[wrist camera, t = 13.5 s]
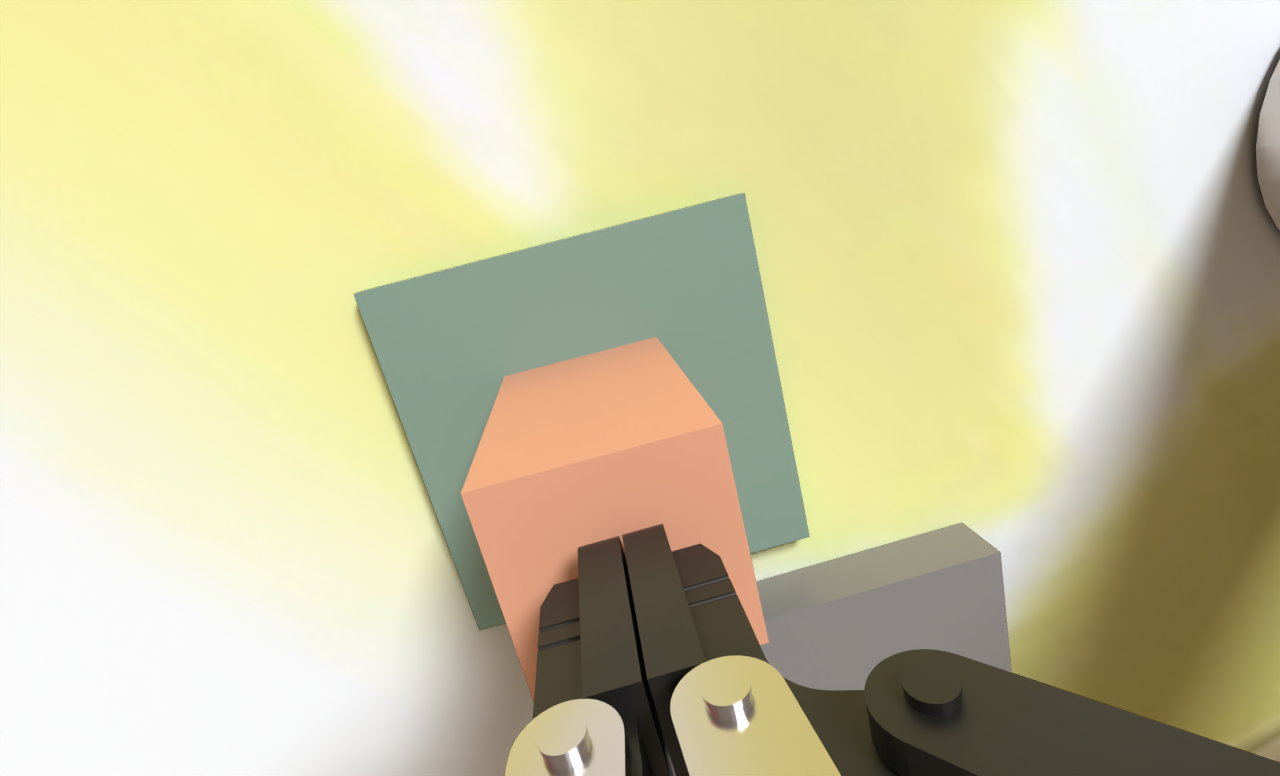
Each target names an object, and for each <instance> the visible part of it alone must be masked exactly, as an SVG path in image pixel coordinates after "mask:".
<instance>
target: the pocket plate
mask: <svg viewBox="0 0 1280 776" xmlns="http://www.w3.org/2000/svg"><path fill="white" fill-rule="evenodd" d="M756 584H757V588H758V593H759V598H760V603H761V607H762V612H763V617H764V621H765V626H766V631H767V635H768V640H769V643H766V644H762V645H760V646H761V649H762V651H763V653H764V655H765V657H766V659H767V661H768V663H769V664H770V665H771V666H773V667H774V668H775V669H776V670H777V671H778V672H779V673H780V674H781V675H782V676H783V677H784V678H786V679H788V680H789V681H791V682H794V683H796V684H798V685H801V686H805V687H808V688H813V689H819V690H864V688H865V683H866V680H867V677H868V676H869V674H870V672H871V671H872V670H873V668H874V667H875V666H876V665H877V664H879V663H880V662H881V661H883V660H884V659H886V658H888V657H890V656H892V655H894V654H897V653H900V652H904V651H909V650H917V649H933V650H940V651H947V652H950V653H954V654H958V655H961V656H964V657H967V658H970V659H972V660H975V661H978V662H981V663H984V664H987V665H990V666H993V667H996V668H999V669H1002V670H1005V671H1008V672H1011V673H1012V671H1011V660H1010V649H1009V639H1008V628H1007V617H1006V606H1005V596H1004V585H1003V574H1002V563H1001V553H1000V551H998V550H997V549H996V548H995V547H993V546H992V545H991V544H989V543H988V542H987V541H985V540H984V539H983V538H982V537H980V536H979V535H978V534H976V533H975V532H974V531H972V530H971V529H970V528H969V527H967V526H966V525H965V524H963V523H959V524H956V525H952V526H949V527H945V528H942V529H938V530H935V531H931V532H928V533H924V534H921V535H917V536H914V537H911V538H907V539H904V540H900V541H897V542H893V543H890V544H886V545H883V546H879V547H876V548H872V549H869V550H865V551H862V552H858V553H855V554H851V555H848V556H844V557H841V558H837V559H834V560H830V561H827V562H823V563H820V564H816V565H813V566H809V567H806V568H802V569H799V570H795V571H792V572H788V573H785V574H781V575H778V576H774V577H771V578H767V579H764V580H760V581H757V582H756ZM675 776H676V775H675Z"/></svg>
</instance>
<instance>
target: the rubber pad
mask: <svg viewBox="0 0 1280 776" xmlns="http://www.w3.org/2000/svg"><path fill="white" fill-rule="evenodd" d="M354 297H355V300H356V302H357V305H358V308H359V310H360V313H361V316H362V318H363V321H364V324H365V326H366V329H367V332H368V334H369V337H370V340H371V342H372V345H373V348H374V350H375V353H376V356H377V358H378V361H379V364H380V366H381V369H382V372H383V374H384V377H385V380H386V382H387V385H388V388H389V390H390V393H391V396H392V398H393V401H394V404H395V406H396V409H397V412H398V414H399V417H400V420H401V422H402V425H403V428H404V430H405V433H406V436H407V438H408V441H409V444H410V446H411V449H412V452H413V454H414V457H415V460H416V462H417V465H418V468H419V470H420V473H421V476H422V478H423V481H424V484H425V486H426V489H427V492H428V494H429V497H430V500H431V502H432V505H433V508H434V510H435V513H436V516H437V518H438V521H439V524H440V526H441V529H442V532H443V534H444V537H445V540H446V542H447V545H448V548H449V550H450V553H451V556H452V558H453V561H454V564H455V566H456V569H457V572H458V574H459V577H460V580H461V582H462V585H463V588H464V590H465V593H466V596H467V598H468V601H469V604H470V606H471V609H472V612H473V614H474V617H475V620H476V622H477V625H478V628H479V630H483V629H487V628H490V627H494V626H497V625H501V624H504V623H506V621H505V618H504V615H503V613H502V610H501V607H500V604H499V601H498V598H497V595H496V593H495V590H494V587H493V584H492V581H491V578H490V575H489V573H488V570H487V567H486V564H485V561H484V558H483V555H482V553H481V550H480V547H479V544H478V541H477V538H476V535H475V533H474V530H473V527H472V524H471V521H470V518H469V515H468V513H467V510H466V507H465V504H464V501H463V498H462V495H461V491H462V489H463V486H464V483H465V481H466V478H467V475H468V473H469V470H470V467H471V465H472V462H473V459H474V457H475V454H476V451H477V449H478V446H479V443H480V440H481V438H482V435H483V432H484V430H485V427H486V424H487V422H488V419H489V416H490V414H491V411H492V408H493V406H494V403H495V400H496V398H497V395H498V392H499V390H500V387H501V384H502V381H503V379H504V376H508V375H511V374H515V373H519V372H523V371H527V370H531V369H535V368H538V367H542V366H546V365H550V364H554V363H558V362H562V361H566V360H569V359H573V358H577V357H581V356H585V355H589V354H593V353H596V352H600V351H604V350H608V349H612V348H616V347H620V346H623V345H627V344H631V343H635V342H639V341H643V340H647V339H650V338H654V337H657V338H658V340H659V341H660V342H661V344H662V345H663V346H664V348H665V349H666V350H667V351H668V353H669V354H670V355H671V357H672V358H673V359H674V361H675V362H676V363H677V365H678V366H679V367H680V369H681V370H682V371H683V372H684V374H685V375H686V376H687V378H688V379H689V380H690V382H691V383H692V384H693V386H694V387H695V388H696V390H697V391H698V392H699V393H700V395H701V396H702V397H703V399H704V400H705V401H706V403H707V404H708V405H709V407H710V408H711V409H712V411H713V412H714V413H715V414H716V416H717V417H718V418H719V420H720V421H721V422H722V424H723V429H724V433H725V438H726V443H727V447H728V452H729V457H730V462H731V466H732V471H733V476H734V480H735V485H736V490H737V494H738V499H739V504H740V509H741V513H742V518H743V523H744V527H745V532H746V537H747V541H748V546H749V551H750V553H754V552H757V551H761V550H764V549H768V548H771V547H775V546H779V545H782V544H786V543H789V542H793V541H796V540H800V539H803V538H807V537H810V536H809V531H808V526H807V520H806V515H805V510H804V504H803V499H802V494H801V489H800V483H799V478H798V473H797V468H796V462H795V457H794V452H793V446H792V441H791V436H790V431H789V425H788V420H787V415H786V409H785V404H784V399H783V394H782V388H781V383H780V378H779V372H778V367H777V362H776V357H775V351H774V346H773V341H772V336H771V330H770V325H769V320H768V314H767V309H766V304H765V299H764V293H763V288H762V283H761V277H760V272H759V267H758V262H757V256H756V251H755V246H754V240H753V235H752V230H751V225H750V219H749V214H748V209H747V204H746V198H745V193H741V194H736V195H732V196H729V197H725V198H721V199H717V200H713V201H709V202H705V203H701V204H697V205H694V206H690V207H686V208H682V209H678V210H674V211H670V212H666V213H663V214H659V215H655V216H651V217H647V218H643V219H639V220H635V221H632V222H628V223H624V224H620V225H616V226H612V227H608V228H604V229H601V230H597V231H593V232H589V233H585V234H581V235H577V236H573V237H570V238H566V239H562V240H558V241H554V242H550V243H546V244H542V245H538V246H535V247H531V248H527V249H523V250H519V251H515V252H511V253H507V254H504V255H500V256H496V257H492V258H488V259H484V260H480V261H476V262H473V263H469V264H465V265H461V266H457V267H453V268H449V269H445V270H442V271H438V272H434V273H430V274H426V275H422V276H418V277H414V278H411V279H407V280H403V281H399V282H395V283H391V284H387V285H383V286H379V287H376V288H372V289H368V290H364V291H360V292H357V293H355V294H354Z"/></svg>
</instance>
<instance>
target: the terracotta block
mask: <svg viewBox="0 0 1280 776" xmlns="http://www.w3.org/2000/svg"><path fill="white" fill-rule="evenodd" d="M461 495H462V498H463V501H464V504H465V507H466V510H467V513H468V515H469V518H470V521H471V524H472V527H473V530H474V533H475V535H476V538H477V541H478V544H479V547H480V550H481V553H482V555H483V558H484V561H485V564H486V567H487V570H488V573H489V575H490V578H491V581H492V584H493V587H494V590H495V593H496V595H497V598H498V601H499V604H500V607H501V610H502V613H503V615H504V618H505V621H506V624H507V627H508V630H509V633H510V635H511V638H512V641H513V644H514V647H515V650H516V653H517V655H518V658H519V661H520V664H521V667H522V670H523V673H524V675H525V678H526V681H527V684H528V687H529V690H530V693H531V695H532V698H533V701H534V694H535V679H536V664H537V652H538V634H539V633H540V632H539V619H540V606H541V605H542V603H543V602H544V600H545V598H546V597H547V595H548V593H549V592H550V590H551V588H552V587H553V585H555V584H558V583H562V582H565V581H569V580H573V579H576V578H578V547H581V546H584V545H588V544H591V543H595V542H599V541H602V540H606V539H609V538H613V537H617V536H619V537H620V540H621V543H622V546H623V549H624V543H623V537H622V535H623V534H627V533H630V532H634V531H638V530H641V529H645V528H648V527H652V526H656V525H659V524H663V526H664V529H665V532H666V535H667V539H668V542H669V545H670V548H671V551H675V550H679V549H682V548H686V547H690V546H693V545H697V544H700V543H701V544H702V545H704V546H705V547H707V548H708V549H710V550H711V551H713V552H714V553H716V554H717V555H719V556H720V558H721V560H722V562H723V564H724V566H725V569H726V571H727V573H728V576H729V579H730V580H731V582H732V584H733V586H734V589H735V591H736V594H737V595H738V598H739V600H740V602H741V604H742V606H743V609H744V611H745V613H746V615H747V617H748V620H749V622H750V624H751V626H752V629H753V631H754V633H755V635H756V637H757V640H758V642H759V644H760V645H762V644H766V643H769V640H768V635H767V631H766V626H765V621H764V617H763V612H762V607H761V603H760V598H759V593H758V588H757V584H756V579H755V574H754V570H753V565H752V560H751V556H750V551H749V546H748V541H747V537H746V532H745V527H744V523H743V518H742V513H741V509H740V504H739V499H738V494H737V490H736V485H735V480H734V476H733V471H732V466H731V462H730V457H729V452H728V447H727V443H726V438H725V433H724V429H723V424H722V422H721V421H720V420H719V418H718V417H717V416H716V414H715V413H714V412H713V411H712V409H711V408H710V407H709V405H708V404H707V403H706V401H705V400H704V399H703V397H702V396H701V395H700V393H699V392H698V391H697V390H696V388H695V387H694V386H693V384H692V383H691V382H690V380H689V379H688V378H687V376H686V375H685V374H684V372H683V371H682V370H681V369H680V367H679V366H678V365H677V363H676V362H675V361H674V359H673V358H672V357H671V355H670V354H669V353H668V351H667V350H666V349H665V348H664V346H663V345H662V344H661V342H660V341H659V340H658V338H657V337H654V338H650V339H647V340H643V341H639V342H635V343H631V344H627V345H623V346H620V347H616V348H612V349H608V350H604V351H600V352H596V353H593V354H589V355H585V356H581V357H577V358H573V359H569V360H566V361H562V362H558V363H554V364H550V365H546V366H542V367H538V368H535V369H531V370H527V371H523V372H519V373H515V374H511V375H508V376H504V379H503V381H502V384H501V387H500V390H499V392H498V395H497V398H496V400H495V403H494V406H493V408H492V411H491V414H490V416H489V419H488V422H487V424H486V427H485V430H484V432H483V435H482V438H481V440H480V443H479V446H478V449H477V451H476V454H475V457H474V459H473V462H472V465H471V467H470V470H469V473H468V475H467V478H466V481H465V483H464V486H463V489H462V491H461ZM624 553H625V549H624ZM625 556H626V554H625Z"/></svg>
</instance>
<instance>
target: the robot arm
mask: <svg viewBox="0 0 1280 776" xmlns="http://www.w3.org/2000/svg"><path fill="white" fill-rule="evenodd" d="M1256 160H1257V175H1258V182H1259V186H1260V189H1261V193H1262V196H1263V200H1264V203H1265V207H1266V209H1267V210H1268V212H1269V214H1270V216H1271V217H1272V219H1273V221H1274V223H1275V224H1276V226H1277V228H1278V229H1279V231H1280V60H1279V62H1278V64H1277V66H1276V68H1275V70H1274V72H1273V75H1272V77H1271V79H1270V82H1269V85H1268V89H1267V92H1266V95H1265V99H1264V102H1263V105H1262V109H1261V112H1260V117H1259V126H1258V134H1257V142H1256ZM622 537H623V543H624V549H625V553H624V549H623V546H622V543H621V540H620V537H619V536H617V537H613V538H609V539H606V540H602V541H599V542H595V543H591V544H588V545H584V546H581V547H578V578H576V579H573V580H569V581H565V582H562V583H558V584H555V585H553V587H552V588H551V590H550V592H549V593H548V595H547V597H546V598H545V600H544V602H543V603H542V605H541V606H540V619H539V632H540V633H539V634H538V652H537V664H536V679H535V694H534V709H533V720H532V721H531V722H530V723H529V724H527V725H526V727H525V728H524V729H523V730H522V731H521V732H520V734H519V735H518V737H517V738H516V740H515V741H514V743H513V745H512V748H511V750H510V753H509V756H508V760H507V765H506V770H505V776H675V775H676V776H1280V762H1277V761H1274V760H1271V759H1268V758H1265V757H1262V756H1259V755H1256V754H1253V753H1250V752H1247V751H1244V750H1241V749H1238V748H1235V747H1232V746H1229V745H1226V744H1223V743H1220V742H1217V741H1214V740H1211V739H1208V738H1205V737H1202V736H1199V735H1196V734H1193V733H1190V732H1187V731H1184V730H1181V729H1178V728H1175V727H1172V726H1169V725H1166V724H1163V723H1160V722H1158V721H1155V720H1152V719H1149V718H1146V717H1143V716H1140V715H1137V714H1134V713H1131V712H1128V711H1125V710H1122V709H1119V708H1116V707H1113V706H1110V705H1107V704H1104V703H1101V702H1098V701H1095V700H1092V699H1089V698H1086V697H1083V696H1080V695H1077V694H1074V693H1071V692H1068V691H1065V690H1062V689H1059V688H1056V687H1053V686H1050V685H1047V684H1044V683H1041V682H1038V681H1035V680H1032V679H1029V678H1026V677H1023V676H1020V675H1017V674H1014V673H1011V672H1008V671H1005V670H1002V669H999V668H996V667H993V666H990V665H987V664H984V663H981V662H978V661H975V660H972V659H970V658H967V657H964V656H961V655H958V654H954V653H950V652H947V651H940V650H933V649H917V650H909V651H904V652H900V653H897V654H894V655H892V656H890V657H888V658H886V659H884V660H883V661H881V662H880V663H879V664H877V665H876V666H875V667H874V668H873V670H872V671H871V672H870V674H869V676H868V677H867V680H866V683H865V688H864V690H819V689H813V688H808V687H805V686H801V685H798V684H796V683H794V682H791V681H789V680H788V679H786V678H784V677H783V676H782V675H781V674H780V673H779V672H778V671H777V670H776V669H775V668H774V667H773V666H771V665H770V664H769V663H768V661H767V659H766V657H765V655H764V653H763V651H762V649H761V646H760V644H759V642H758V640H757V637H756V635H755V633H754V631H753V629H752V626H751V624H750V622H749V620H748V617H747V615H746V613H745V611H744V609H743V606H742V604H741V602H740V600H739V598H738V595H737V594H736V591H735V589H734V586H733V584H732V582H731V580H730V579H729V576H728V573H727V571H726V569H725V566H724V564H723V562H722V560H721V558H720V556H719V555H717V554H716V553H714V552H713V551H711V550H710V549H708V548H707V547H705V546H704V545H702V544H701V543H700V544H697V545H693V546H690V547H686V548H682V549H679V550H675V551H671V548H670V545H669V542H668V539H667V535H666V532H665V529H664V526H663V524H659V525H656V526H652V527H648V528H645V529H641V530H638V531H634V532H630V533H627V534H623V535H622ZM625 554H626V556H625Z"/></svg>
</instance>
